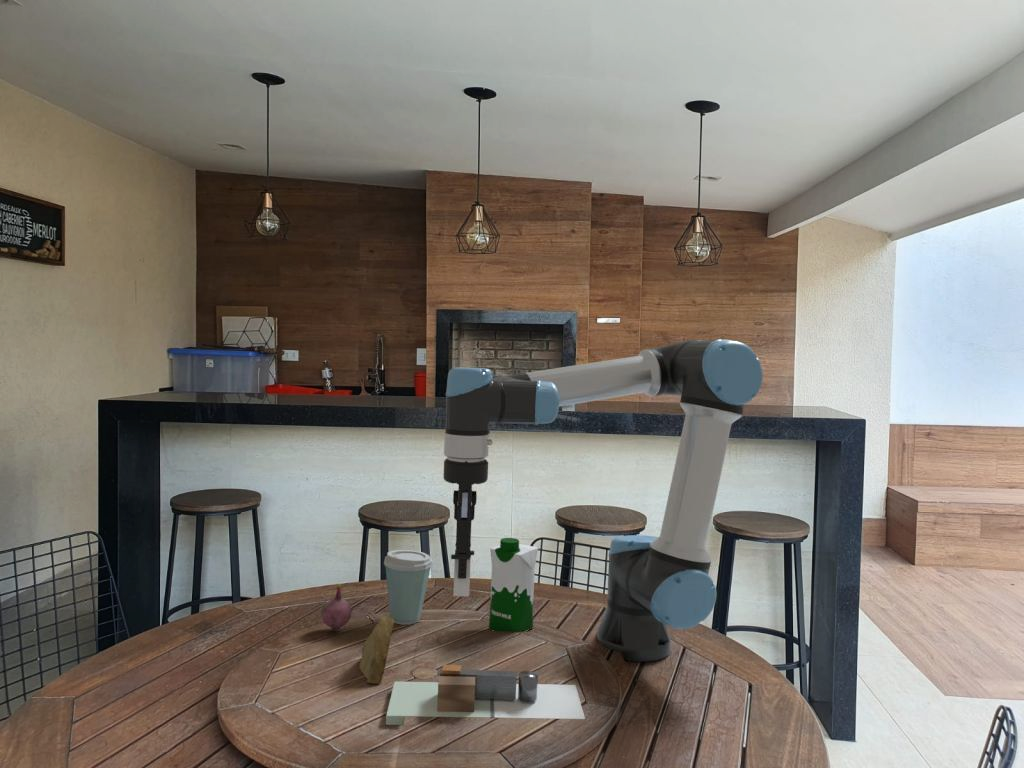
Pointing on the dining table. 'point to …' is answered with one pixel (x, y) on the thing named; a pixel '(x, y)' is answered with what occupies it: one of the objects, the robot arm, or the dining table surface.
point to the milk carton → (512, 586)
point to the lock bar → (497, 683)
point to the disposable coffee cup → (406, 584)
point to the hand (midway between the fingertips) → (461, 594)
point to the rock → (376, 650)
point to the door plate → (484, 704)
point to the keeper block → (456, 694)
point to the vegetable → (336, 611)
